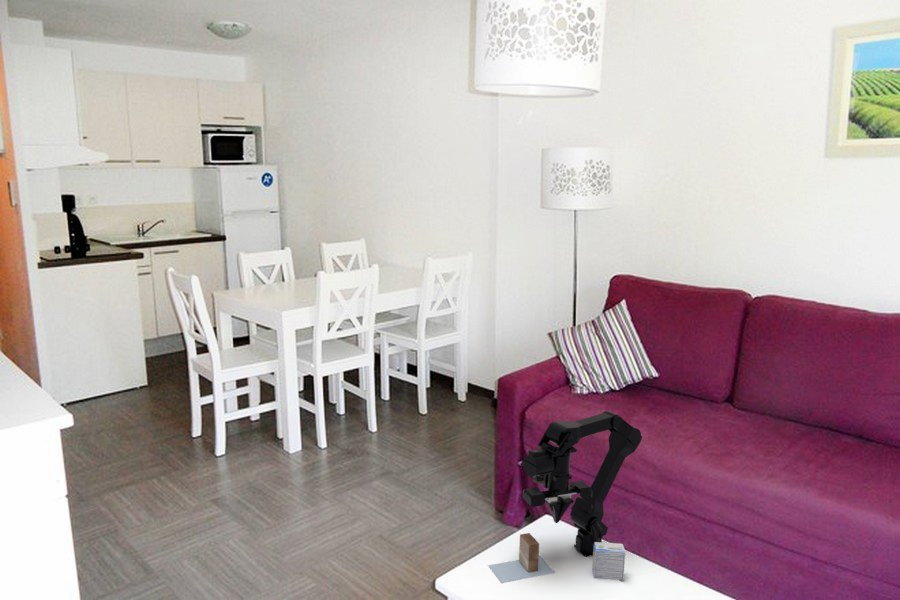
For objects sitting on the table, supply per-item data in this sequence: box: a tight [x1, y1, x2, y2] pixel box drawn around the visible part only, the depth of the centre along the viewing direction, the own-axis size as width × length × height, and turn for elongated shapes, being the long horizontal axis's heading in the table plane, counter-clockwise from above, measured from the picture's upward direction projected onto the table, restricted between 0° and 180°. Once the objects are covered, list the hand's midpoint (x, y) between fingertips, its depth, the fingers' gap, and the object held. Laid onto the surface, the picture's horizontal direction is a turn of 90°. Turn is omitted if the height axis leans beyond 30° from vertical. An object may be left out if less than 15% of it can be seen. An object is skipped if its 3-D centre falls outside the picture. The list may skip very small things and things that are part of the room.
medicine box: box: [591, 541, 626, 582], centre depth 187 cm, size 8×4×9 cm, turn 84°
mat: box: [487, 555, 556, 584], centre depth 189 cm, size 16×9×1 cm, turn 110°
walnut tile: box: [518, 532, 540, 573], centre depth 190 cm, size 3×6×8 cm, turn 20°
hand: (556, 522), depth 192 cm, fingers closed
